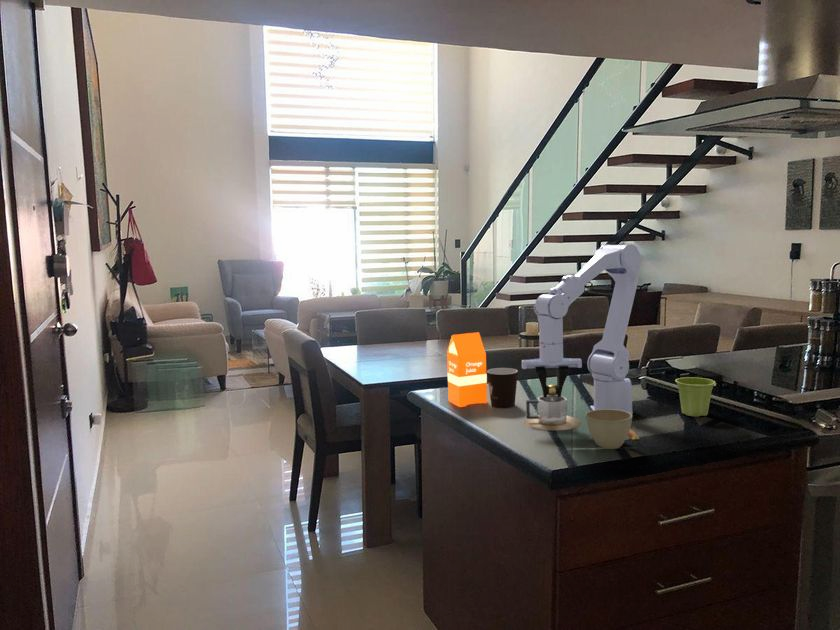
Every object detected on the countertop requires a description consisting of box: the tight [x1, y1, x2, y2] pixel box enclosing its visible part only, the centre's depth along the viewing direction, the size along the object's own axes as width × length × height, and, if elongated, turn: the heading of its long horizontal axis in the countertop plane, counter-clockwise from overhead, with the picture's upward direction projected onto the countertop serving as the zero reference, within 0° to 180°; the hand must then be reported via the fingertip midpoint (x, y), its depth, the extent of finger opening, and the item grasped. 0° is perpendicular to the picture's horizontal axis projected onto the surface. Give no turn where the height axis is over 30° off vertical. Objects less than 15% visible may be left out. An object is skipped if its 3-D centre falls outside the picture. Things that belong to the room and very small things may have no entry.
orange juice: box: [446, 331, 488, 408], centre depth 188 cm, size 8×9×20 cm
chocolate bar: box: [627, 428, 640, 440], centre depth 155 cm, size 3×12×2 cm, turn 3°
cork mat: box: [523, 414, 582, 431], centre depth 165 cm, size 14×14×1 cm
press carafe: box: [525, 395, 568, 426], centre depth 165 cm, size 10×7×6 cm
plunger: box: [546, 383, 558, 402], centre depth 164 cm, size 5×5×6 cm
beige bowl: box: [585, 409, 633, 450], centre depth 146 cm, size 10×10×7 cm
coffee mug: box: [486, 367, 519, 409], centre depth 184 cm, size 12×9×10 cm
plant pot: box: [674, 376, 716, 418], centre depth 168 cm, size 9×9×9 cm
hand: (551, 396), depth 164 cm, fingers closed on plunger, 3 cm apart
